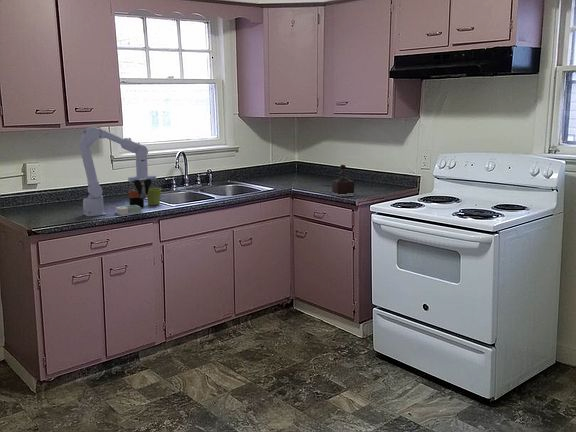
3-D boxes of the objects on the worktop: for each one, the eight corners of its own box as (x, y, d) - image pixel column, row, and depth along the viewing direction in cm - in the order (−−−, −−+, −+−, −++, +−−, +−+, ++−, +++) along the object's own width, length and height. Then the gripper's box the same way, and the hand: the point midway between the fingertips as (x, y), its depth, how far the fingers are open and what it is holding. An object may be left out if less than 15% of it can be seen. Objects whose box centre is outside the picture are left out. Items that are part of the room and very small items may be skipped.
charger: (120, 215, 295) (120, 208, 294) (115, 212, 301) (114, 206, 301) (142, 212, 301) (142, 206, 300) (136, 210, 308) (136, 204, 307)
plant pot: (149, 202, 330) (148, 187, 328) (165, 203, 328) (164, 188, 326) (142, 205, 321) (141, 190, 319) (158, 206, 319) (158, 190, 317)
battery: (129, 207, 316) (128, 189, 314) (142, 206, 319) (141, 188, 317) (131, 208, 312) (130, 190, 310) (144, 207, 316) (143, 189, 314)
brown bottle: (355, 196, 352) (356, 167, 348) (339, 197, 348) (339, 167, 344) (343, 192, 366) (344, 164, 362) (327, 193, 362) (328, 164, 358)
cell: (141, 198, 303) (140, 184, 302) (139, 197, 306) (138, 183, 304) (147, 198, 305) (146, 183, 303) (144, 197, 307) (144, 183, 306)
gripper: (131, 169, 295) (132, 196, 298) (158, 168, 303) (159, 193, 306) (126, 168, 300) (127, 194, 303) (152, 166, 309) (153, 192, 311)
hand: (142, 194), depth 305 cm, fingers closed on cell, 3 cm apart
